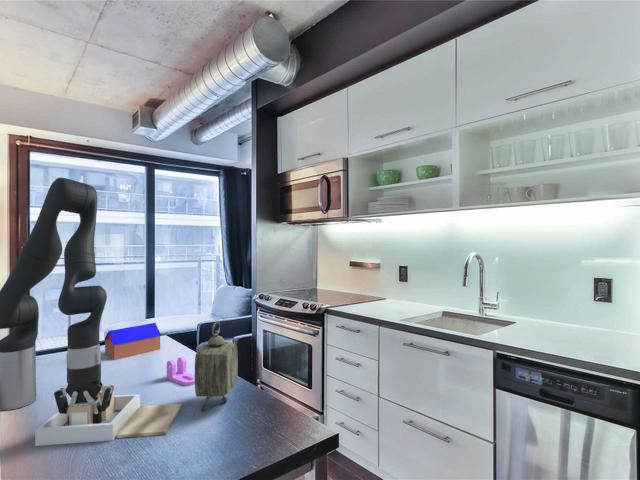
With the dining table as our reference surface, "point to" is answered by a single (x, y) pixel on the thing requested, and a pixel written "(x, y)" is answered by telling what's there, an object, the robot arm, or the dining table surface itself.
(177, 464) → the dining table surface
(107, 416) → the plain box
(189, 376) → the bracket
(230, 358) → the tabletop clock
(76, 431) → the bin
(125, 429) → the board
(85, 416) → the labelled box
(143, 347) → the house
